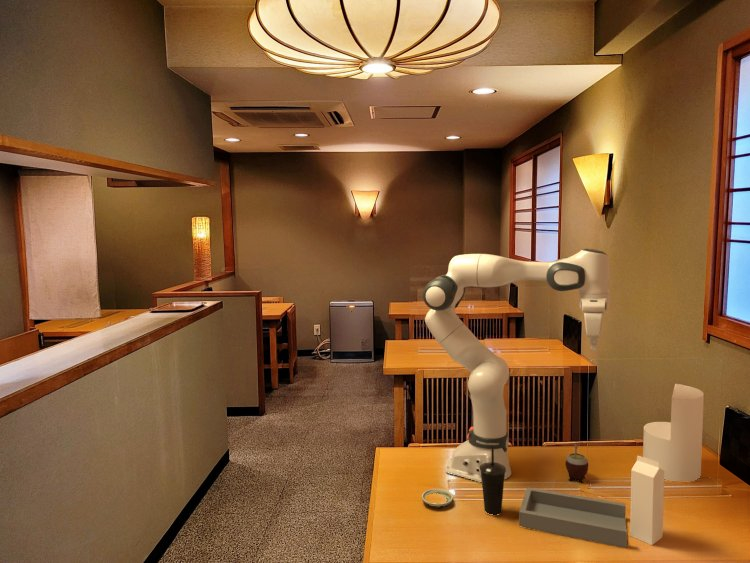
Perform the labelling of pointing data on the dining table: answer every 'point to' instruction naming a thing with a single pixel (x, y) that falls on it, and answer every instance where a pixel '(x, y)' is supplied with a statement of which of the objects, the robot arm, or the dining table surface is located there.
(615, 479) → the dining table surface
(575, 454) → the mate gourd
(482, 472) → the drinking cup
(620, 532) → the trough
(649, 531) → the milk
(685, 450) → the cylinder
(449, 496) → the saucer
